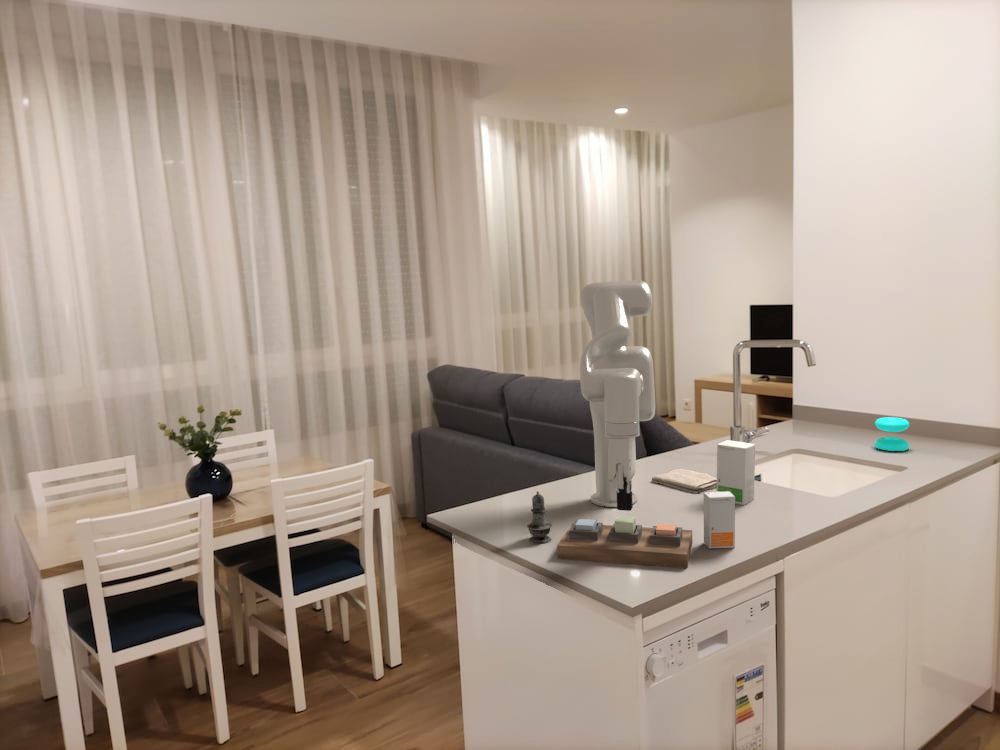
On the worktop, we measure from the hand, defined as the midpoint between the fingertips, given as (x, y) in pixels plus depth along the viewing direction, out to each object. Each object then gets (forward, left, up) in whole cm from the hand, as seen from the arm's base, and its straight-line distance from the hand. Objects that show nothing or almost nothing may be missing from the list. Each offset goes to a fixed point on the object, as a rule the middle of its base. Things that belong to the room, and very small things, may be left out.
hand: (624, 509), depth 163 cm
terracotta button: (0, +9, -6) cm, 11 cm away
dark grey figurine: (-3, -21, -10) cm, 24 cm away
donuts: (-106, +71, -10) cm, 128 cm away
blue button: (0, -9, -6) cm, 11 cm away
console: (0, 0, -10) cm, 10 cm away
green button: (0, 0, -5) cm, 5 cm away
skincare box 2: (-42, +23, -10) cm, 49 cm away
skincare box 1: (-7, +20, -10) cm, 23 cm away
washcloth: (-56, +9, -11) cm, 58 cm away
